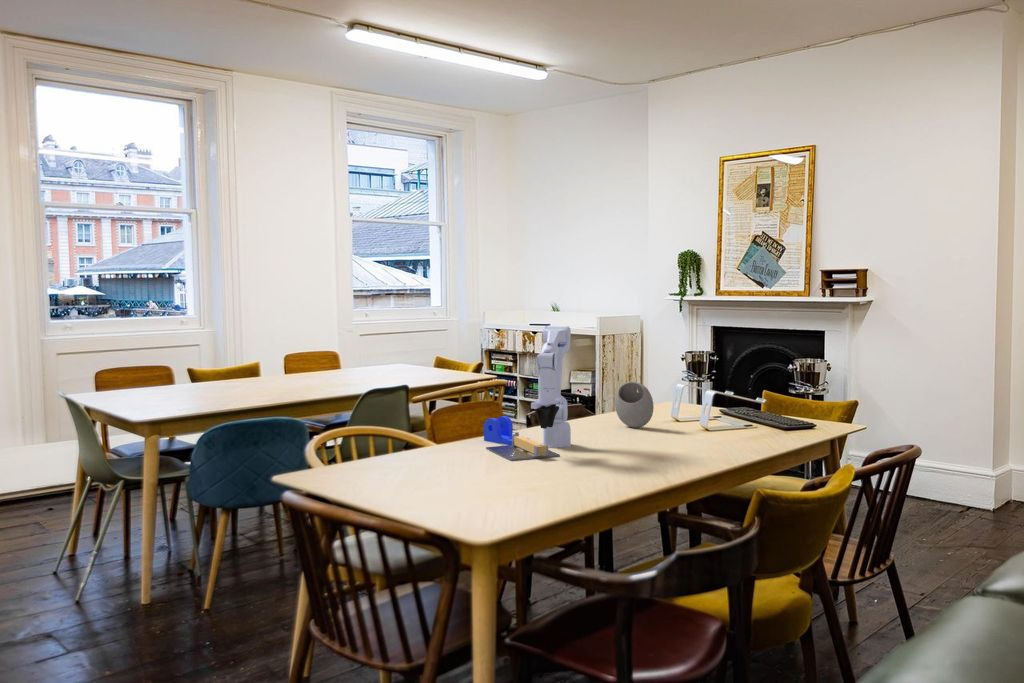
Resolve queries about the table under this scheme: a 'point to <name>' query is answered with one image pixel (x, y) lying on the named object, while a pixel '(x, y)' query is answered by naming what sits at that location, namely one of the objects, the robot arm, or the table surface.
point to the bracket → (498, 430)
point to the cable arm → (531, 445)
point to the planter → (634, 404)
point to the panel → (517, 452)
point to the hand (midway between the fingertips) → (546, 427)
